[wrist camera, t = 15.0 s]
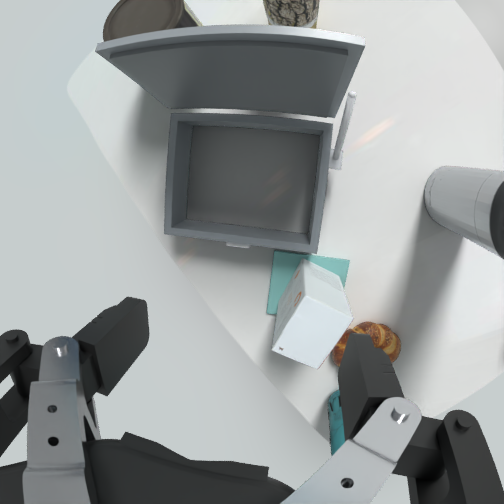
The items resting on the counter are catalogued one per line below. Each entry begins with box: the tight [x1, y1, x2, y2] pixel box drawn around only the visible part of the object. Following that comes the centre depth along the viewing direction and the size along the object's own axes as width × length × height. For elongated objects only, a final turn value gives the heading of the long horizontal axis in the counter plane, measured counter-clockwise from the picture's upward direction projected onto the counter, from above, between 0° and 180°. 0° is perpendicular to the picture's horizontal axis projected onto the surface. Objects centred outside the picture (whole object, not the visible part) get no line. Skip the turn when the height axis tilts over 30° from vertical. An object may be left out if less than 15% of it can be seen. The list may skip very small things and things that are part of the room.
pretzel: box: [332, 322, 401, 366], centre depth 44 cm, size 12×11×4 cm
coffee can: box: [103, 0, 203, 42], centre depth 30 cm, size 10×10×14 cm
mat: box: [267, 250, 350, 314], centre depth 44 cm, size 11×10×1 cm
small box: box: [272, 258, 354, 369], centre depth 37 cm, size 8×6×13 cm
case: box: [164, 91, 357, 254], centre depth 34 cm, size 22×19×14 cm
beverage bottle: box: [328, 390, 345, 456], centre depth 40 cm, size 6×7×20 cm
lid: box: [95, 25, 365, 118], centre depth 24 cm, size 20×16×1 cm
